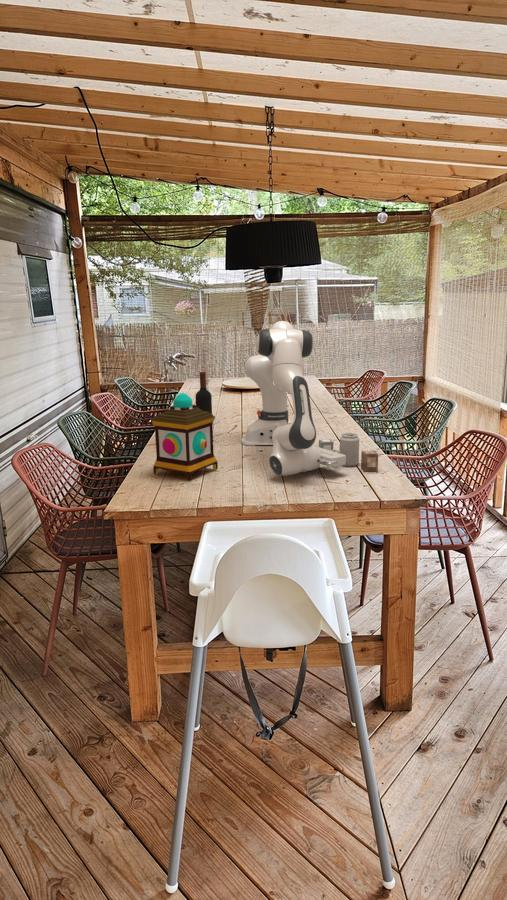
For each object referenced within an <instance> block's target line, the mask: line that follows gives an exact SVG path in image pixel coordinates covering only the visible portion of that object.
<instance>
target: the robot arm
mask: <svg viewBox="0 0 507 900" xmlns="http://www.w3.org/2000/svg"><path fill="white" fill-rule="evenodd" d="M314 342H315V341H314V337H313V334H312V333H311V332H310V331H309V330H306V329H295V328H294V326H293V325H292V323H290V322H289V321H286V320H279V321H276V322H275V323H274V324H273V325H272V326H271V328H264V329H260V331H259V332H258V334H257V337H256V338H255V346H256V347H255V348H256V350H257V352H258V354H257V355H253V356H249V357H248V359H247V360H246V362H245V368H244V369H245V373H246V375H247V377H249V378H250V380H252V381H254V383H256V385H257V387H258V388H259V391H260V394H261V402H262V404H261V405H262V409H261V410H260V409H257V410H256V414H257V417H258V419H257V420H254V422H253V423H251V424H250V425H249V426H247V429H246V432H245V436H243V437H242V438H241V439H240V442H241V444H242V445H244V446H255V445H273V446H272V451H271V454H270V456H269V460H268V461H269V466H270V468H271V471H273V473H275V474H277V475H279V476H289V475H297V474H299V473H300V472H309V471H314V470H317V469H319V468H320V466H321V465H323V466H324V467H330V468H333V467H341V466H343V465H345V464H346V455H344V454H341V451H339V450H337V449H333V450H327V449H323V448H320V447H319V446H315V445H314V443H315V441H316V438H317V430H316V427H315V426H316V425H315V423H314V420H313V416H312V415H313V414H312V408H311V407H312V406H311V397H310V390H309V385H308V382H307V380H306V379H305V377H304V369H305V363H304V360H303V358H308V357H309V356H310V355H311V354H312V352H313V349H314V346H315V345H314ZM287 393H288V394H290V396H291V398H292V407H293V409H292V410H293V420H292V422H289V410H288V394H287Z"/></svg>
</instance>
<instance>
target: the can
mask: <svg viewBox="0 0 507 900" xmlns="http://www.w3.org/2000/svg"><path fill="white" fill-rule="evenodd" d="M338 451H341V454H344V455H346V464H345V465H342V466H343V467H347V466H348V467H349V468H351V467H350V466H352V467H356V466H357V465H358V464H359V463H360V457H359V456H360V437H359V434H358V433H354V432H344V433H341V436H340V437H339V450H338Z"/></svg>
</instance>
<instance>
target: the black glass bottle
mask: <svg viewBox="0 0 507 900" xmlns="http://www.w3.org/2000/svg"><path fill="white" fill-rule="evenodd" d="M203 372H206V389H207V390H208V391H209V382H210V378H209V366H207V365H204V366H203ZM209 392H210V391H209ZM220 423H221V421H220V419H218V418H216V417H215V419H214V421H213V425H217V424H220Z"/></svg>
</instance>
